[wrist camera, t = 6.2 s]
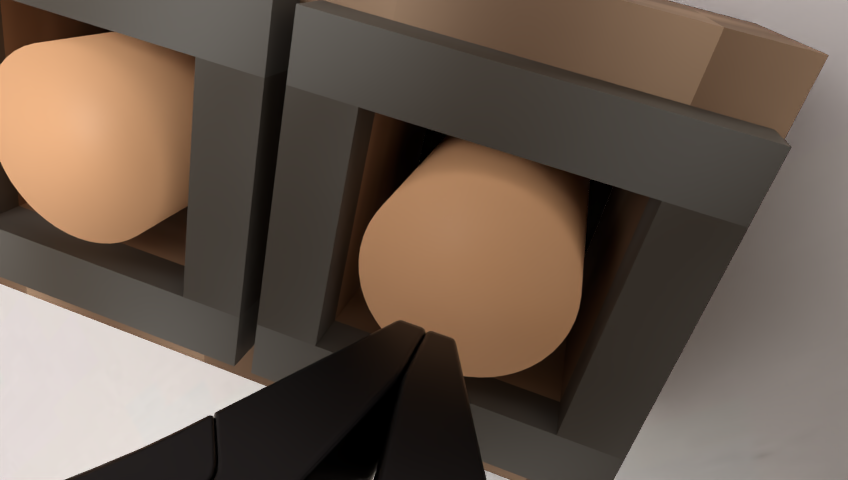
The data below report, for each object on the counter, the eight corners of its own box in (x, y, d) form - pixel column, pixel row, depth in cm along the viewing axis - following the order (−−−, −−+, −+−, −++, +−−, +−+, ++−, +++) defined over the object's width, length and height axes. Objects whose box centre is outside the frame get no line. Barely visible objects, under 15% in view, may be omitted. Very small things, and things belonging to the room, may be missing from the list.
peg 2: (614, 127, 15) (617, 219, 10) (560, 265, 17) (538, 406, 11) (458, 81, 15) (381, 144, 10) (422, 220, 17) (342, 334, 12)
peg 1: (312, 38, 16) (168, 77, 11) (293, 177, 18) (162, 268, 13) (177, -2, 17) (-24, 16, 11) (172, 137, 18) (-2, 208, 13)
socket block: (755, 23, 13) (853, 65, 8) (593, 374, 18) (588, 548, 13) (111, -147, 15) (-146, -202, 10) (115, 205, 20) (-61, 293, 15)
